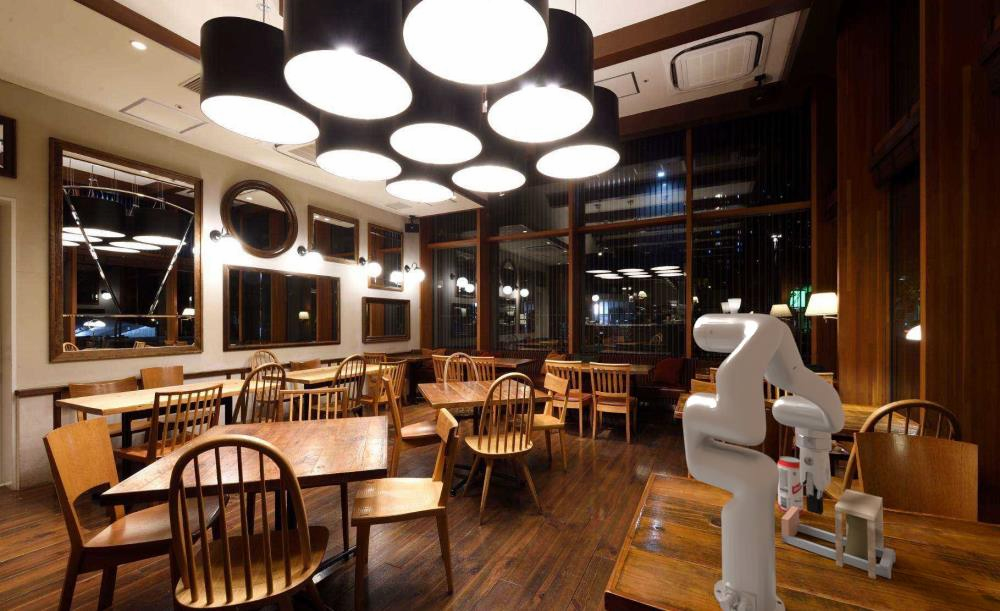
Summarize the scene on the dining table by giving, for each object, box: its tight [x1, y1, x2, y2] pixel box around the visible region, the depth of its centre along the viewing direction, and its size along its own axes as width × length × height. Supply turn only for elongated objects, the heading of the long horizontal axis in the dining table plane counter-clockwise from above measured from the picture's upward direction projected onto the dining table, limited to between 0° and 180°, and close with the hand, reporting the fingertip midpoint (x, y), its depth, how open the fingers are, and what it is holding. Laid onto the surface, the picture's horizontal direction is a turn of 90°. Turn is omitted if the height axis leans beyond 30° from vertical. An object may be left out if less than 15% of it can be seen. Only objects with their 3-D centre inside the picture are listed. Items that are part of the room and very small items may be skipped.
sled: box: [780, 506, 896, 580], centre depth 104 cm, size 21×10×6 cm, turn 42°
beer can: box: [776, 455, 804, 517], centre depth 125 cm, size 6×6×16 cm
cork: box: [844, 513, 878, 564], centre depth 101 cm, size 6×6×11 cm
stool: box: [834, 488, 885, 580], centre depth 101 cm, size 7×14×14 cm, turn 132°
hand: (815, 511), depth 108 cm, fingers closed
